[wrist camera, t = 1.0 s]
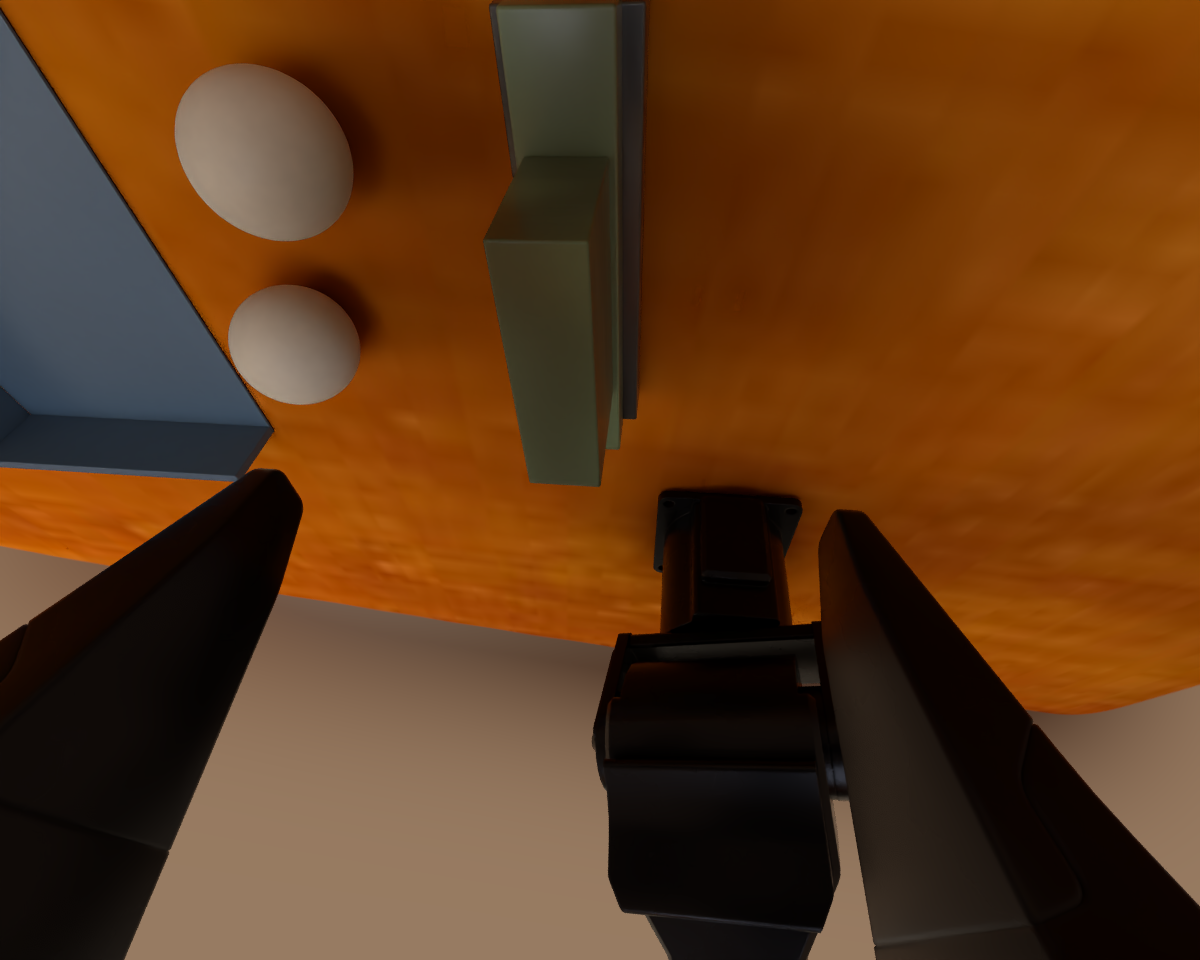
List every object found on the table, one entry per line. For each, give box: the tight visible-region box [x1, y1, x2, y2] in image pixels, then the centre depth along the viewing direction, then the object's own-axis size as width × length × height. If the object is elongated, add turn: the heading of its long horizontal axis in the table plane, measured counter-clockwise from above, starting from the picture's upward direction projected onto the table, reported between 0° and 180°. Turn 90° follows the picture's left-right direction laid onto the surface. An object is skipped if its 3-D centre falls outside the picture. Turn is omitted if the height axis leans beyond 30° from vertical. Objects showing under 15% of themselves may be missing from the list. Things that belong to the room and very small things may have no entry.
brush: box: [483, 0, 650, 487], centre depth 15 cm, size 3×12×7 cm, turn 2°
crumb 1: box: [175, 63, 354, 241], centre depth 15 cm, size 4×4×4 cm
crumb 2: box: [228, 285, 360, 404], centre depth 20 cm, size 4×4×4 cm
